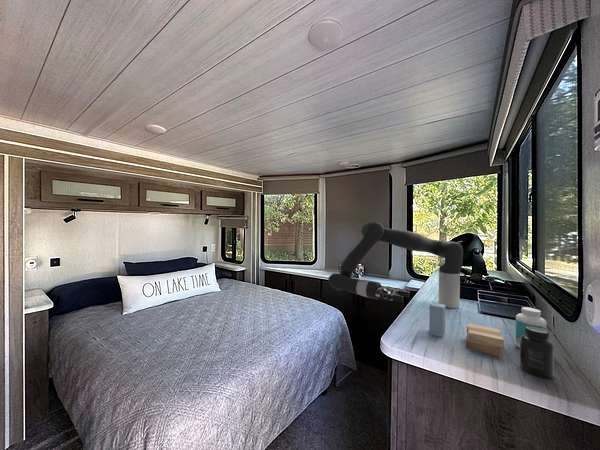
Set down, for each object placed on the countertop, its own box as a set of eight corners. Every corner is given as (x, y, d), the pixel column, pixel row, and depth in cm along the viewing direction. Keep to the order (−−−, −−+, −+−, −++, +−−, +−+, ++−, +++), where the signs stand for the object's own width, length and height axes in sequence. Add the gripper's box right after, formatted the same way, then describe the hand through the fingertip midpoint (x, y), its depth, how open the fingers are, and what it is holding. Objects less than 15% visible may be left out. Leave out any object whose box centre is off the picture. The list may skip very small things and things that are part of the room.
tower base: (468, 339, 86) (468, 331, 86) (500, 347, 81) (500, 339, 81) (465, 348, 80) (465, 339, 80) (500, 359, 74) (500, 349, 74)
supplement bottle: (560, 377, 64) (561, 334, 64) (540, 380, 63) (541, 335, 63) (531, 363, 71) (532, 323, 71) (513, 364, 70) (514, 324, 70)
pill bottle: (549, 358, 74) (550, 315, 74) (517, 350, 78) (518, 310, 78) (542, 347, 80) (543, 308, 80) (513, 341, 84) (514, 304, 84)
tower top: (466, 331, 86) (466, 323, 86) (498, 337, 81) (498, 329, 81) (468, 341, 79) (469, 332, 79) (503, 349, 74) (504, 340, 74)
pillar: (431, 329, 92) (432, 302, 92) (444, 333, 89) (445, 304, 89) (429, 333, 89) (429, 304, 89) (442, 337, 86) (443, 307, 86)
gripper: (362, 283, 101) (401, 291, 91) (375, 278, 112) (411, 285, 102) (361, 300, 101) (400, 310, 91) (374, 294, 112) (410, 302, 102)
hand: (406, 297), depth 96 cm, fingers open, 8 cm apart
